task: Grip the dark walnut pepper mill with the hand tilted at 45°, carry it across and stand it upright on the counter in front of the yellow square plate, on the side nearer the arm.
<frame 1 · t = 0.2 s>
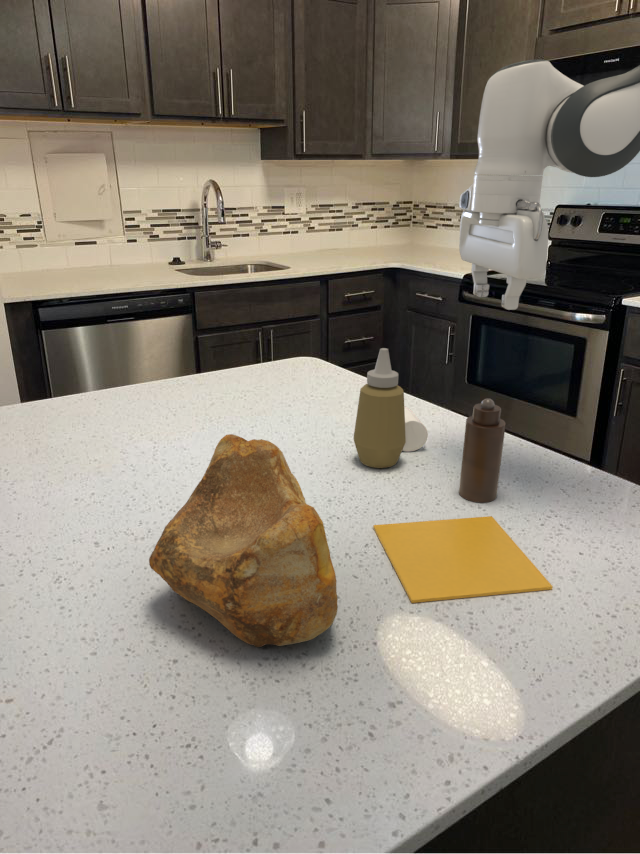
hand: (494, 302, 94), 25 cm above the counter, tool pointing down, fingers open, 8 cm apart
rough brown rock: (236, 598, 70), on the counter
pepper mill: (477, 494, 93), on the counter
yellow square plate: (455, 556, 78), on the counter
squeeze bottle: (378, 462, 104), on the counter
roll: (398, 439, 113), on the counter
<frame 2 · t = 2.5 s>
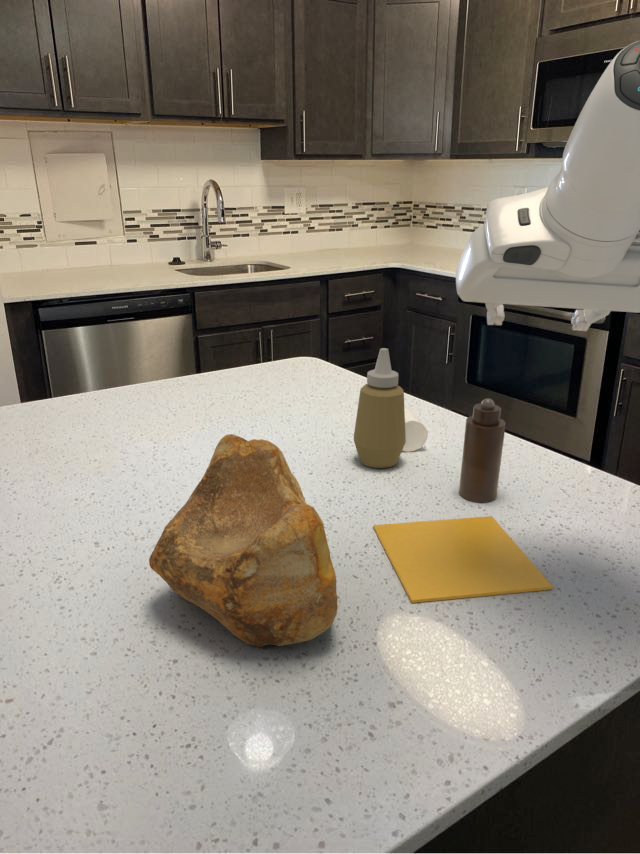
hand: (535, 323, 74), 27 cm above the counter, tool tilted 40°, fingers open, 8 cm apart
nothing on the counter moved.
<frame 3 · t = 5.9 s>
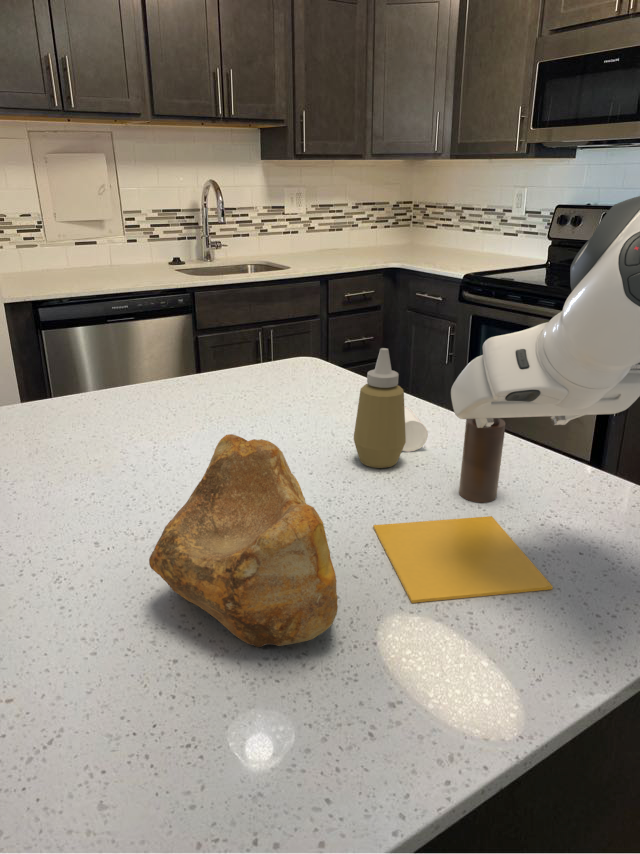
hand: (519, 420, 79), 15 cm above the counter, tool tilted 45°, fingers open, 8 cm apart
nothing on the counter moved.
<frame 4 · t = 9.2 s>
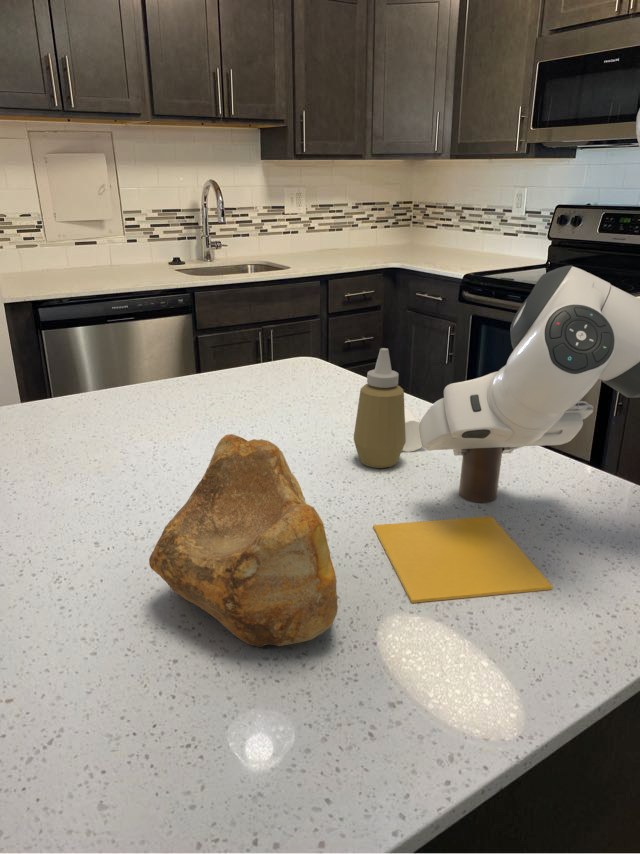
hand: (480, 449, 92), 7 cm above the counter, tool tilted 45°, fingers closed on pepper mill, 5 cm apart
pepper mill: (477, 494, 93), on the counter, touching gripper
everything else where it was.
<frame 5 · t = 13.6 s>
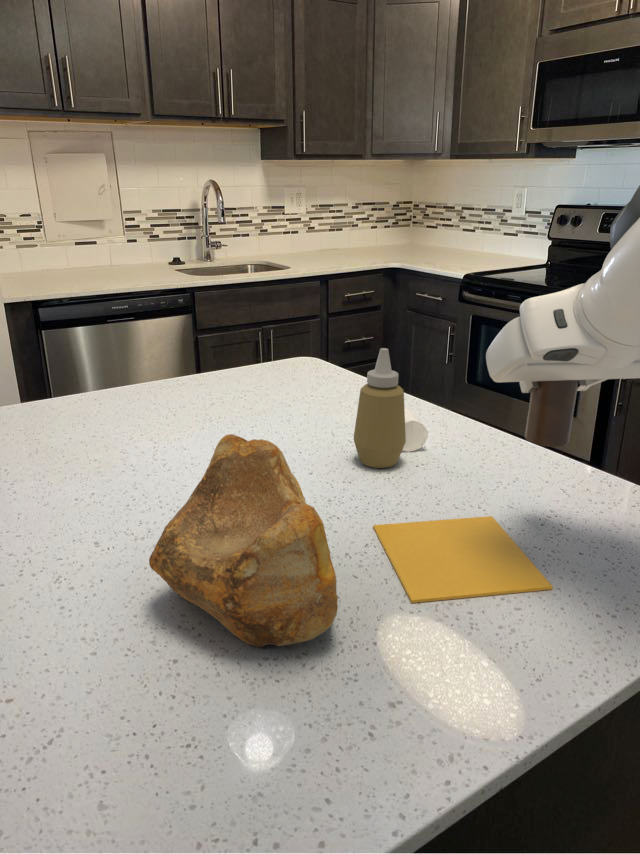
hand: (551, 386, 80), 18 cm above the counter, tool tilted 45°, fingers closed on pepper mill, 5 cm apart
pepper mill: (546, 439, 82), point 12 cm above the counter, touching gripper
everything else where it was.
when the fingers open (6 cm above the counter, at t = 17.9 s): pepper mill stays where it is, on the counter.
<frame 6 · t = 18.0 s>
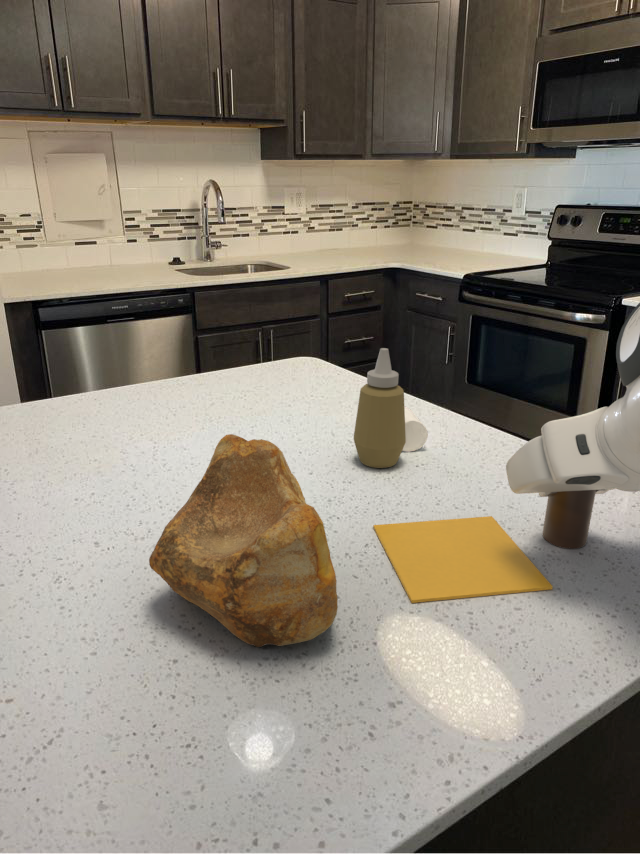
hand: (569, 489, 81), 6 cm above the counter, tool tilted 45°, fingers open, 5 cm apart
pepper mill: (564, 537, 83), on the counter
everything else where it was.
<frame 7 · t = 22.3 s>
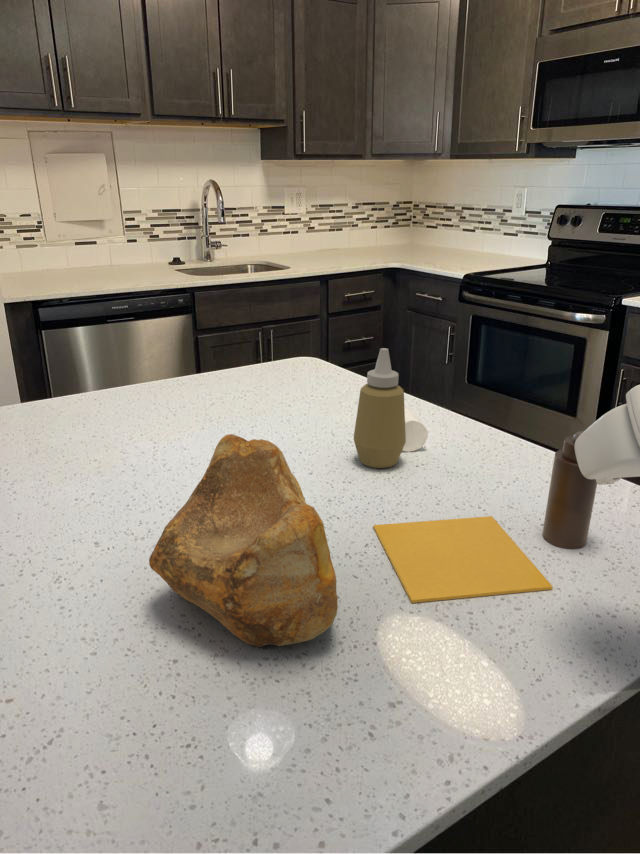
nothing on the counter moved.
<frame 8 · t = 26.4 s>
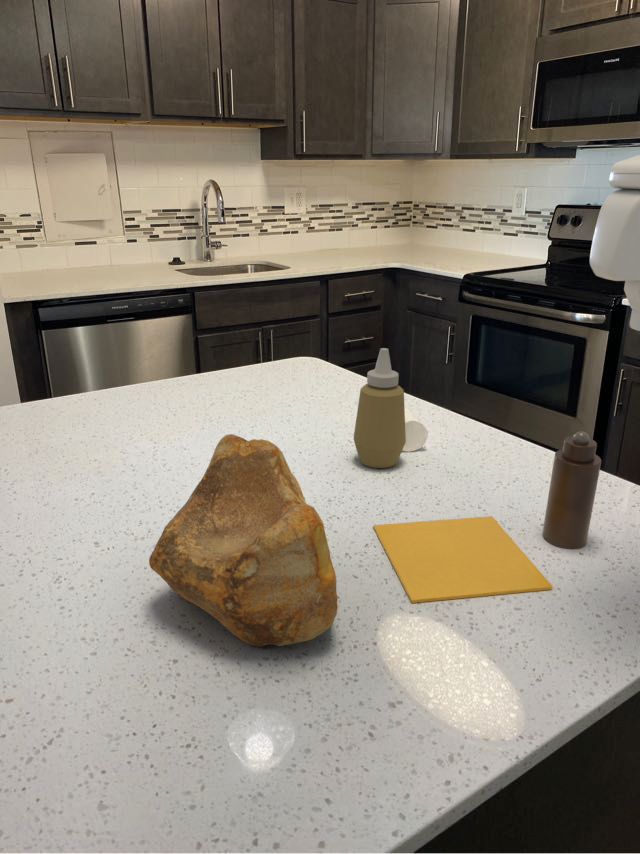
nothing on the counter moved.
at the end: pepper mill inside the target area (0.0 cm from its centre), on the counter; pepper mill tilted 0°; pepper mill touching counter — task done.
